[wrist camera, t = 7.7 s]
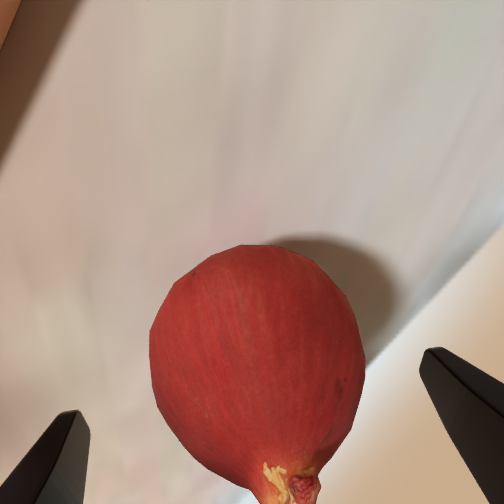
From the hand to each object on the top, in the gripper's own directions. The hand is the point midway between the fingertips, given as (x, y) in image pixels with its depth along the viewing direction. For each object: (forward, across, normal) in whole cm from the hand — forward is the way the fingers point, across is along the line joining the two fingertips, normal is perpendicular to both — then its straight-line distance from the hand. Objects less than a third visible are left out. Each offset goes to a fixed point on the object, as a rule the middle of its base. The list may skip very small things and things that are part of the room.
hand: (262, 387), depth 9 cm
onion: (+5, 0, 0) cm, 5 cm away
